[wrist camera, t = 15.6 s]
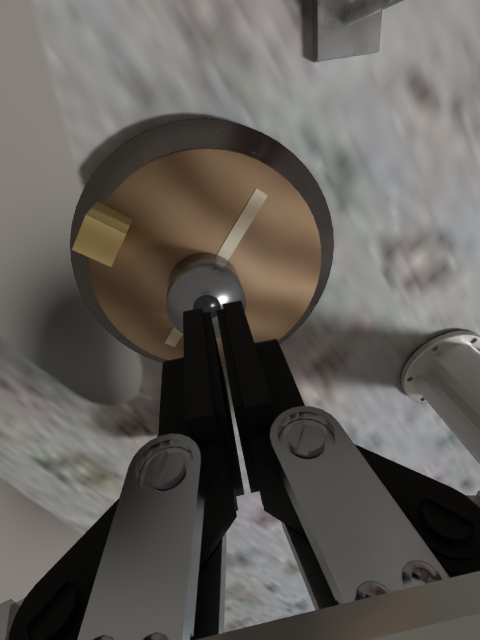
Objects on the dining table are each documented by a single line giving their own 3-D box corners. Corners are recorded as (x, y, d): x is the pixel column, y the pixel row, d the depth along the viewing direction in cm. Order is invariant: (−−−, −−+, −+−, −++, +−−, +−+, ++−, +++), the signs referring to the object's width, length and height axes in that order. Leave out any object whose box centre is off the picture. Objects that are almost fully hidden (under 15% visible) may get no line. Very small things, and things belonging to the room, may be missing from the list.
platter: (146, 82, 25) (139, 77, 21) (359, 227, 34) (387, 247, 30) (55, 309, 34) (35, 342, 29) (243, 379, 43) (251, 413, 38)
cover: (192, 238, 31) (194, 255, 27) (253, 276, 34) (262, 296, 30) (154, 297, 33) (151, 319, 30) (213, 327, 36) (217, 351, 33)
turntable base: (331, 96, 29) (336, 95, 28) (328, 339, 43) (331, 344, 42) (21, 146, 28) (15, 147, 27) (123, 380, 42) (122, 386, 41)
